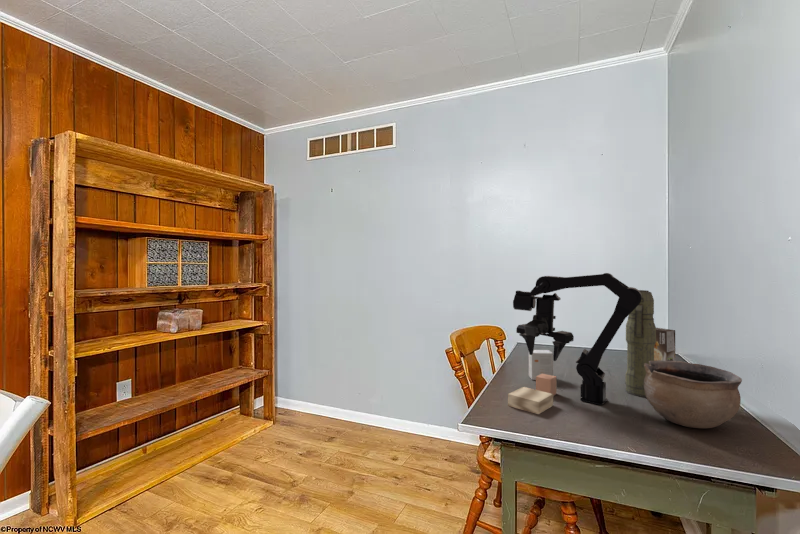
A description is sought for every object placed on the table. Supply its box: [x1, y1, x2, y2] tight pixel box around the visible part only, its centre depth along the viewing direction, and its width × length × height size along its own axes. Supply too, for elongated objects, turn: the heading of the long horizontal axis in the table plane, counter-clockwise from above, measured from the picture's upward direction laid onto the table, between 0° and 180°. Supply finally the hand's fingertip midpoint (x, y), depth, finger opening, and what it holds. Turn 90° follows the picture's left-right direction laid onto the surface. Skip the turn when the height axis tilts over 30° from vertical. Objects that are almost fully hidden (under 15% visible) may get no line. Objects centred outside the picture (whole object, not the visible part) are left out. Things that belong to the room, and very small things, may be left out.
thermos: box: [624, 289, 657, 398], centre depth 134 cm, size 9×12×35 cm
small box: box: [528, 349, 554, 381], centre depth 151 cm, size 8×6×10 cm
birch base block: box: [507, 386, 554, 415], centre depth 122 cm, size 10×10×4 cm
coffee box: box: [654, 327, 676, 361], centre depth 168 cm, size 9×6×16 cm
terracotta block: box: [535, 374, 557, 397], centre depth 133 cm, size 5×5×6 cm
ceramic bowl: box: [644, 360, 743, 429], centre depth 109 cm, size 22×22×15 cm
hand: (542, 357), depth 135 cm, fingers open, 9 cm apart
